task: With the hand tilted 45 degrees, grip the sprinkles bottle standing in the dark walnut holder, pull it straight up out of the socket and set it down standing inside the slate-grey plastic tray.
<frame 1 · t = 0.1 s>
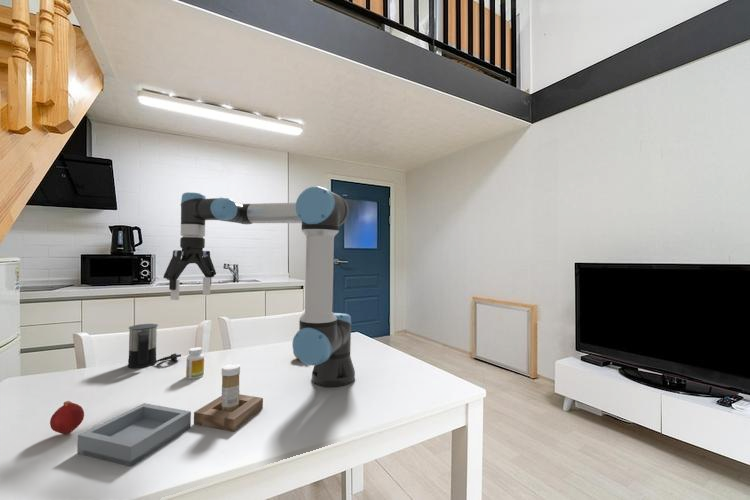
hand: (191, 297, 111), 28 cm above the table, tool pointing down, fingers open, 13 cm apart
milk frother: (154, 363, 123), on the table
walnut holder: (229, 415, 85), on the table
onion: (67, 434, 75), on the table
onion 2: (302, 359, 131), on the table
grey tray: (138, 439, 74), on the table
sprinkles bottle: (229, 416, 85), resting in walnut holder
supplement bottle: (195, 377, 111), on the table
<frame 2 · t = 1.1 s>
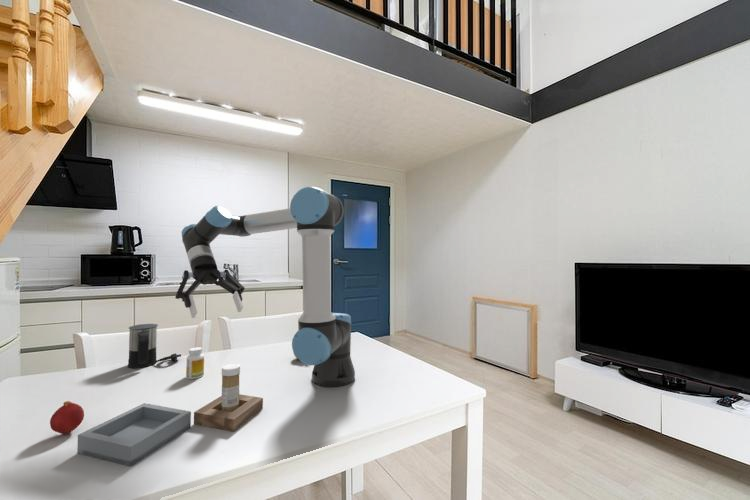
hand: (218, 312, 97), 26 cm above the table, tool tilted 45°, fingers open, 13 cm apart
nothing on the table moved.
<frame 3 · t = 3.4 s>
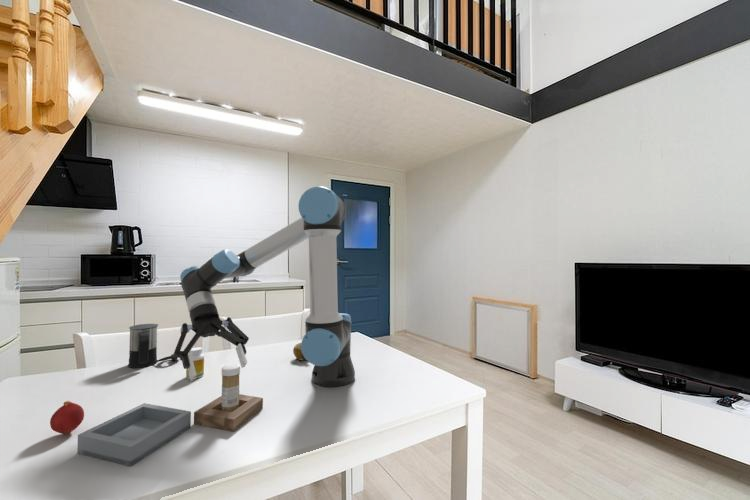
hand: (220, 371, 88), 11 cm above the table, tool tilted 45°, fingers open, 13 cm apart
nothing on the table moved.
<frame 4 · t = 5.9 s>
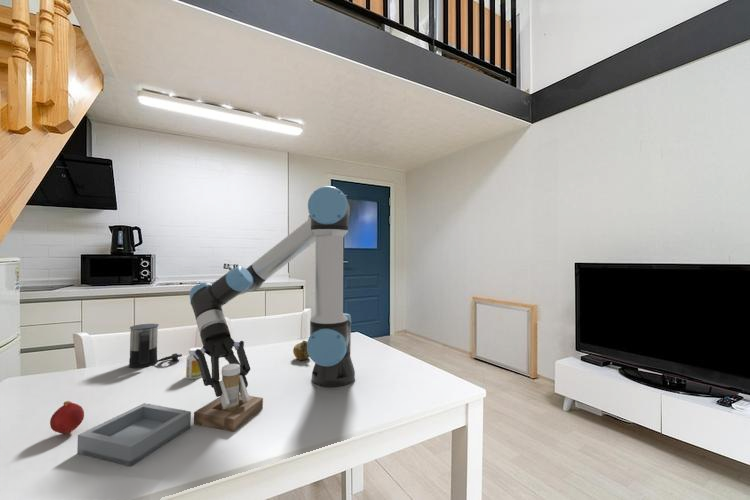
hand: (236, 402, 82), 5 cm above the table, tool tilted 45°, fingers closed on sprinkles bottle, 4 cm apart
sprinkles bottle: (229, 416, 85), resting in walnut holder, touching gripper
everything else where it was.
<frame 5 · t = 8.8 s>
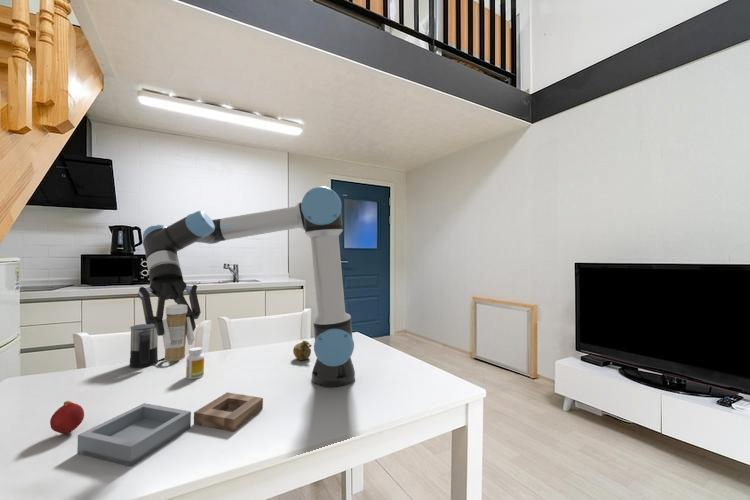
hand: (179, 343, 76), 22 cm above the table, tool tilted 45°, fingers closed on sprinkles bottle, 4 cm apart
sprinkles bottle: (174, 359, 79), point 17 cm above the table, touching gripper
everything else where it was.
when the fingers open (7 cm above the table, at t = 12.1 s): sprinkles bottle drops 1 cm, resting on grey tray.
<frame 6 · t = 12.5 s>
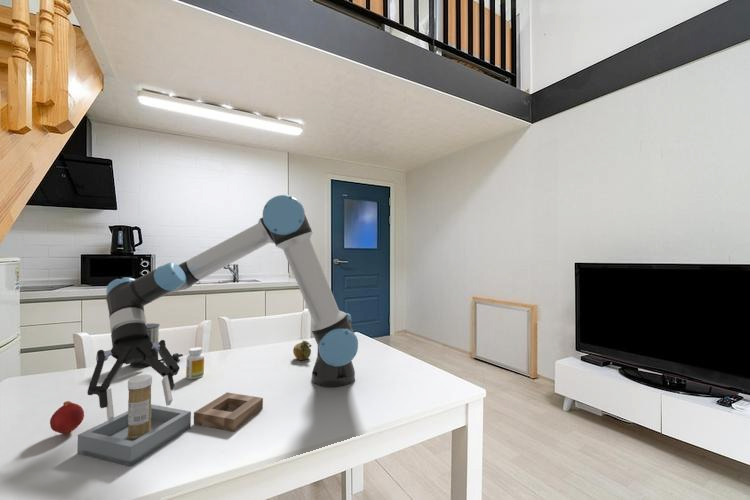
hand: (141, 410, 72), 8 cm above the table, tool tilted 45°, fingers open, 10 cm apart
sprinkles bottle: (139, 435, 74), point 1 cm above the table, touching grey tray
everything else where it was.
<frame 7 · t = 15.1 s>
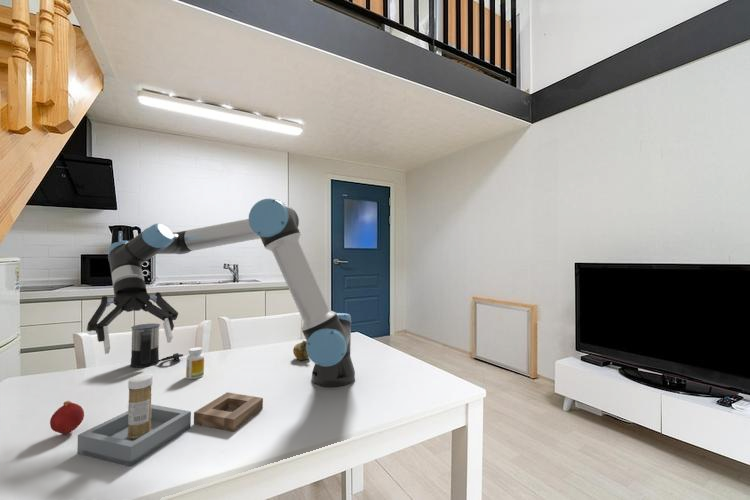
hand: (140, 345, 84), 19 cm above the table, tool tilted 45°, fingers open, 13 cm apart
nothing on the table moved.
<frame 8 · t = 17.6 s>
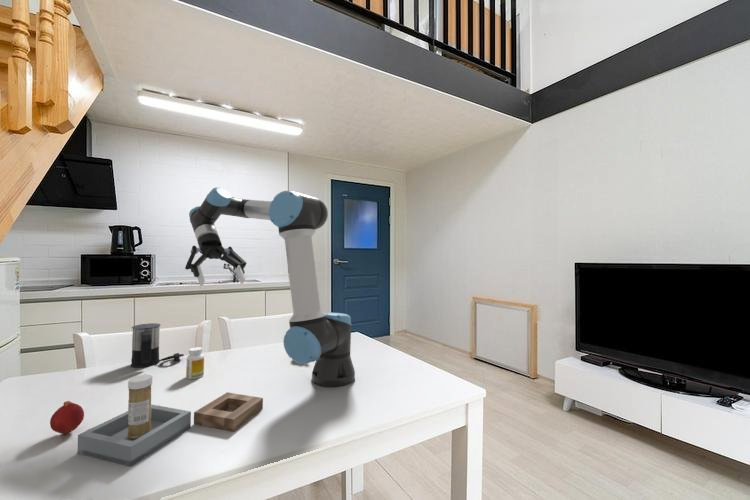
hand: (223, 282, 108), 34 cm above the table, tool tilted 45°, fingers open, 13 cm apart
nothing on the table moved.
at the end: sprinkles bottle inside the target area on the grey tray (0.2 cm from its centre), point 0.8 cm above the grey tray's base; sprinkles bottle tilted 0°; the gripper is holding nothing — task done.
